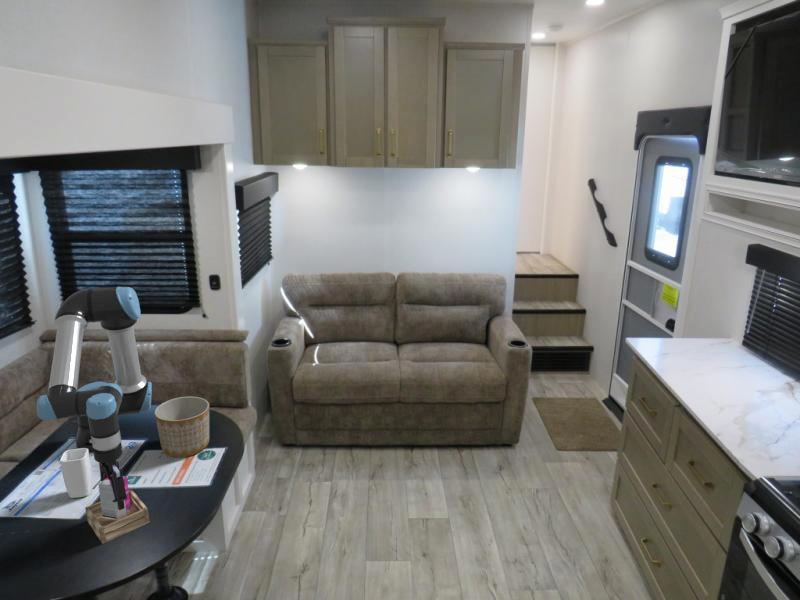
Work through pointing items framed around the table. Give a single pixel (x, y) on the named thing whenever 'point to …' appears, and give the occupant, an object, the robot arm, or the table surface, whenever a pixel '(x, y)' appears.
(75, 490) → the cup
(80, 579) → the table surface
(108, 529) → the crate
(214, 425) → the table surface
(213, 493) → the table surface
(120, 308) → the robot arm
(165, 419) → the planter
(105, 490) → the supplement box
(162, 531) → the table surface
